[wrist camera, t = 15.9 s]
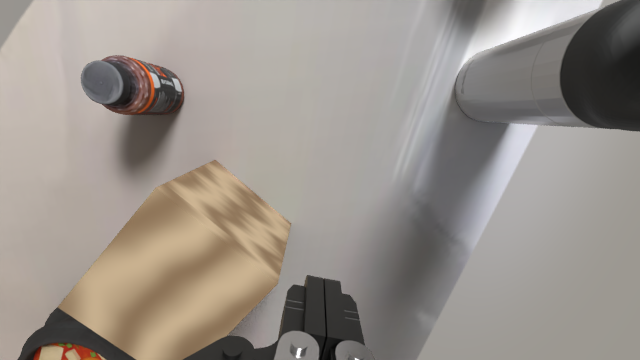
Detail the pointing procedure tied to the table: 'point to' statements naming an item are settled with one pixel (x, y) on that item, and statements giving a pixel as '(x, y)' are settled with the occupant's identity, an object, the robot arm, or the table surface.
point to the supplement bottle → (132, 86)
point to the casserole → (69, 342)
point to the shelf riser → (183, 267)
